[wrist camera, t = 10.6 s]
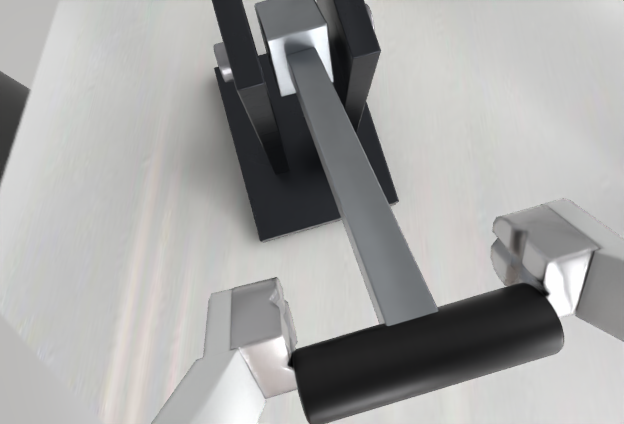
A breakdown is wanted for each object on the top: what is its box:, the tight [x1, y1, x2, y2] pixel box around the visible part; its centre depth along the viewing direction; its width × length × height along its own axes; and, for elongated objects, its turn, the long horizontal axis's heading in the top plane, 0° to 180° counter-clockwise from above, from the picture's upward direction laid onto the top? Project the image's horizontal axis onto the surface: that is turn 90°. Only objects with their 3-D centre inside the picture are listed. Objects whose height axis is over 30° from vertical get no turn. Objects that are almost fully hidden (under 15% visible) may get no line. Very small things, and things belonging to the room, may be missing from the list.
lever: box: [255, 0, 564, 424], centre depth 11 cm, size 14×5×2 cm, turn 16°
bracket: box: [212, 0, 399, 242], centre depth 19 cm, size 12×9×13 cm
